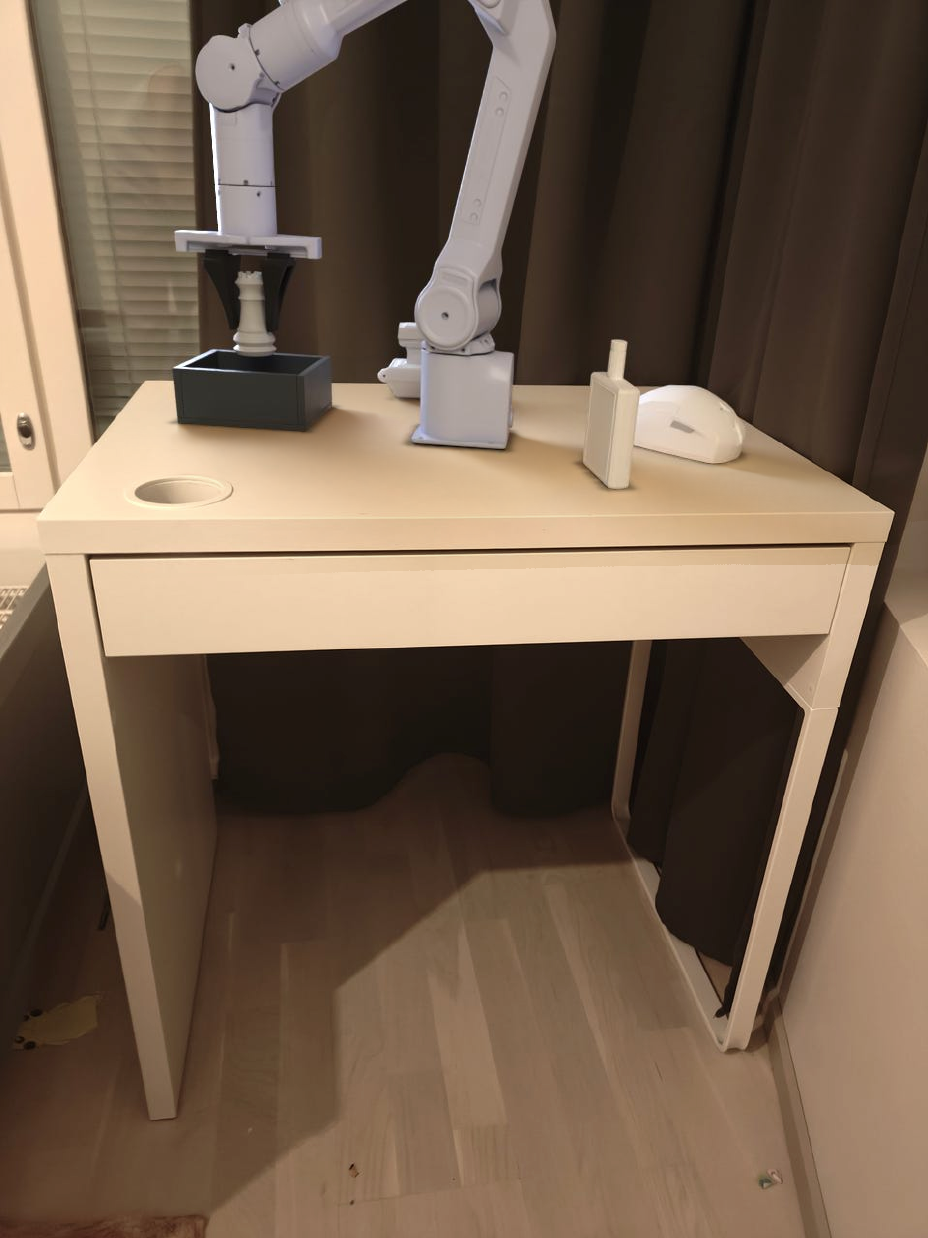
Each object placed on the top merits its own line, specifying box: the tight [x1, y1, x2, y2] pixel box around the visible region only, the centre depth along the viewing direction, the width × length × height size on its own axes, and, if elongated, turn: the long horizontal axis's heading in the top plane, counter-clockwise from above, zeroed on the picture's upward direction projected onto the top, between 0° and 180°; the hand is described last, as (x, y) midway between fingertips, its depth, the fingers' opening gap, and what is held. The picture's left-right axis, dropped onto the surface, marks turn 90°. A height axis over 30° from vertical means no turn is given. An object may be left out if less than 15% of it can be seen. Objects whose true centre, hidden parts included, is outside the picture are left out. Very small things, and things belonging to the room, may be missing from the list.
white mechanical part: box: [377, 322, 424, 400], centre depth 109 cm, size 9×7×8 cm
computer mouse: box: [634, 384, 747, 464], centre depth 92 cm, size 6×13×6 cm, turn 47°
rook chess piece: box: [232, 270, 277, 356], centre depth 94 cm, size 4×4×8 cm
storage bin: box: [171, 348, 333, 432], centre depth 98 cm, size 14×12×6 cm
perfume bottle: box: [582, 339, 641, 490], centre depth 81 cm, size 8×2×12 cm, turn 10°
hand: (253, 329), depth 95 cm, fingers closed on rook chess piece, 3 cm apart
